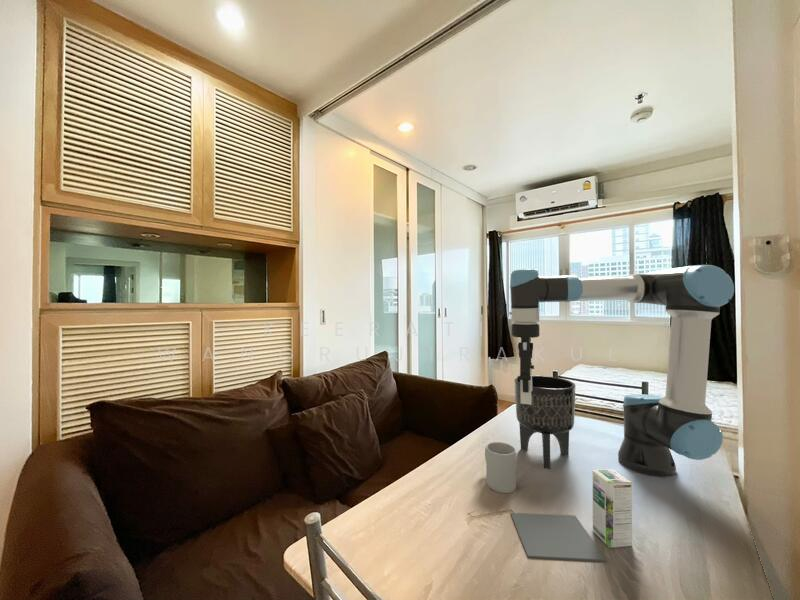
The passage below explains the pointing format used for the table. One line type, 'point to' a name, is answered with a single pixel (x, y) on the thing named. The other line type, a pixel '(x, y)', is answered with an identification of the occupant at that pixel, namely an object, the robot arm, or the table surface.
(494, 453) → the mug
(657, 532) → the table surface
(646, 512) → the table surface
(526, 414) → the planter
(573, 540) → the mat
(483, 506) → the table surface
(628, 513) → the syrup box
